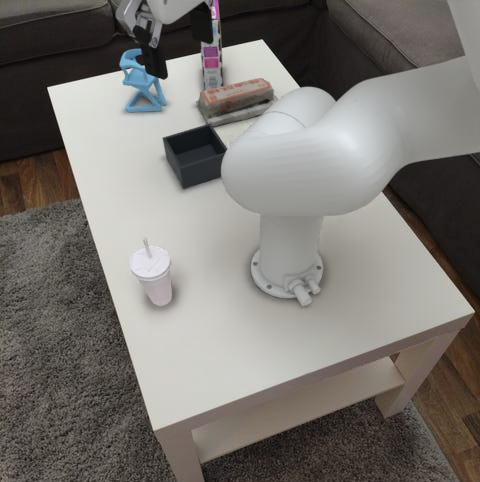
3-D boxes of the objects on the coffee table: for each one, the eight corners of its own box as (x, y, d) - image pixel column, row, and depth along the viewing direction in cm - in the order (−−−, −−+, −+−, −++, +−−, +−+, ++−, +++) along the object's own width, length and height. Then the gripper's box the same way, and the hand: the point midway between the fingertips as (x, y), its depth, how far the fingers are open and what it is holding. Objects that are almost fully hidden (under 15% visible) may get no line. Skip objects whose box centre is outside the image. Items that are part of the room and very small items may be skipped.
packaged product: (207, 109, 95) (193, 86, 101) (209, 129, 100) (196, 105, 105) (283, 89, 98) (266, 68, 103) (282, 110, 102) (265, 88, 108)
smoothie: (183, 283, 77) (169, 226, 65) (176, 313, 73) (161, 260, 62) (147, 281, 77) (127, 224, 65) (139, 311, 74) (116, 257, 62)
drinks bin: (231, 173, 91) (230, 152, 87) (183, 189, 89) (179, 168, 85) (212, 144, 97) (210, 123, 92) (166, 158, 95) (162, 137, 90)
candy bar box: (225, 93, 107) (219, 18, 93) (204, 95, 107) (196, 20, 93) (223, 68, 113) (218, -6, 99) (203, 70, 113) (196, -4, 99)
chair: (157, 117, 103) (146, 64, 93) (125, 111, 104) (111, 59, 94) (170, 98, 107) (160, 46, 96) (139, 93, 108) (126, 41, 98)
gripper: (124, -91, 38) (161, 100, 52) (236, -145, 45) (241, 35, 59) (62, -104, 40) (114, 82, 54) (178, -153, 47) (197, 22, 62)
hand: (181, 57), depth 57 cm, fingers open, 9 cm apart
